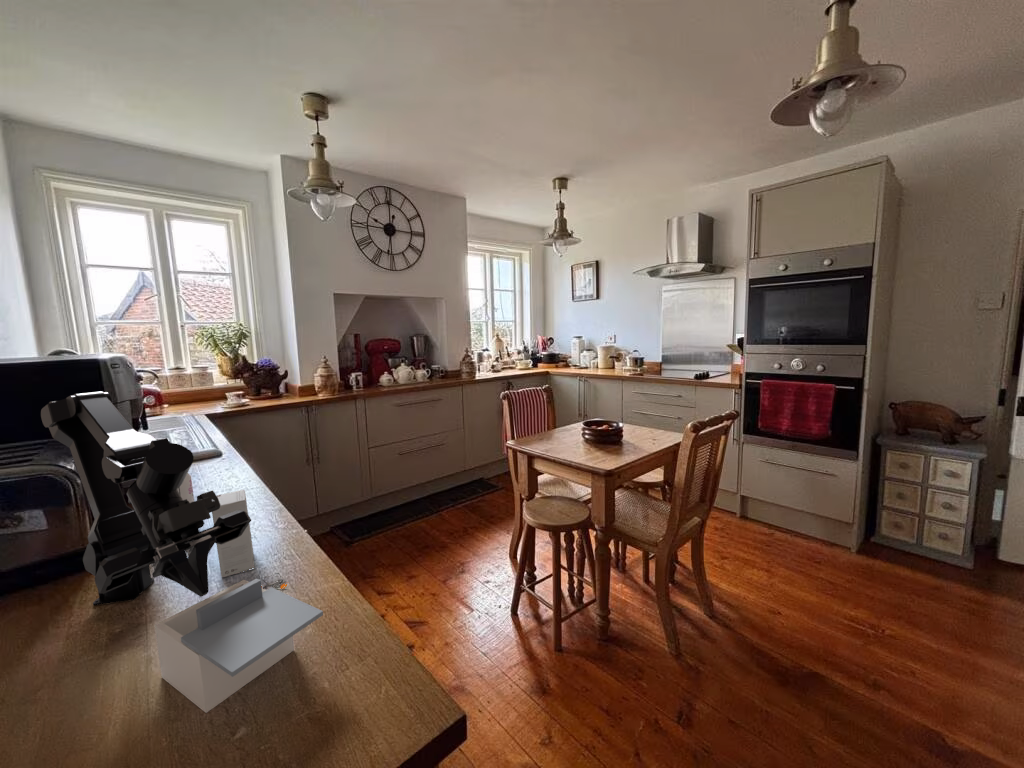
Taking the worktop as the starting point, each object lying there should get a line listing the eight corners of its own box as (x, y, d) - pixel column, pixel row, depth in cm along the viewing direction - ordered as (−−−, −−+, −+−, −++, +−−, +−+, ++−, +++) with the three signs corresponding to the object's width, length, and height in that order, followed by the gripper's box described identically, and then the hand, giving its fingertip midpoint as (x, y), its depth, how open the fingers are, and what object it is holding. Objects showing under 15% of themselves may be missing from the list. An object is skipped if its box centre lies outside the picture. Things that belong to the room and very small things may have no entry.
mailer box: (161, 677, 59) (154, 624, 58) (249, 624, 70) (244, 579, 69) (206, 713, 53) (198, 655, 52) (294, 649, 64) (289, 601, 63)
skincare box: (255, 569, 86) (247, 500, 84) (219, 579, 83) (210, 507, 81) (253, 552, 93) (246, 487, 91) (220, 560, 90) (212, 494, 88)
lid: (181, 641, 54) (178, 619, 54) (272, 591, 65) (270, 571, 64) (232, 676, 49) (229, 651, 48) (323, 614, 59) (321, 593, 59)
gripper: (90, 503, 55) (138, 607, 51) (239, 463, 71) (284, 540, 67) (76, 545, 60) (119, 643, 56) (219, 498, 76) (260, 572, 72)
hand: (204, 594), depth 63 cm, fingers closed
